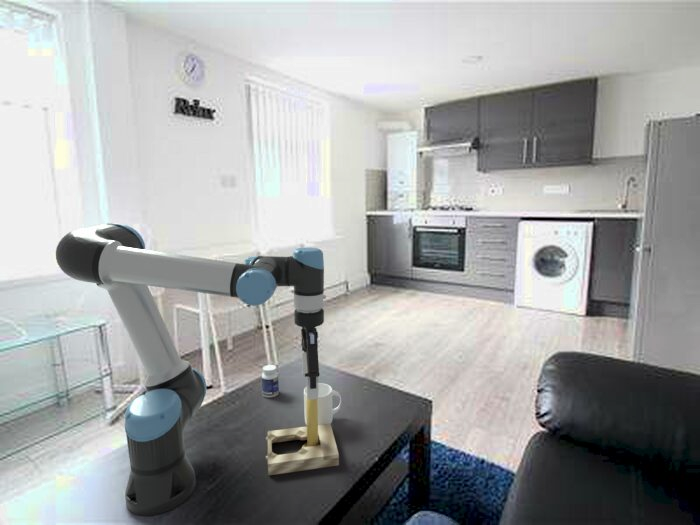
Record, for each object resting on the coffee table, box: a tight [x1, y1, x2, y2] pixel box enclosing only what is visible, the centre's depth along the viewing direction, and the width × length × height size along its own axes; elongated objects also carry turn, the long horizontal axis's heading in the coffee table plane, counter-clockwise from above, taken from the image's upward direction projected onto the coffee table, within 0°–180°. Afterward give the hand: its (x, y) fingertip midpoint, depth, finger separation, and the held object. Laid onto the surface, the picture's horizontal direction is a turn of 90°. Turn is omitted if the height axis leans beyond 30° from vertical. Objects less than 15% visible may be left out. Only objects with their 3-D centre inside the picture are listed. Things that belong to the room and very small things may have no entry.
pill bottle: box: [261, 364, 280, 398], centre depth 140 cm, size 6×6×10 cm
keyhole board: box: [265, 423, 340, 476], centre depth 109 cm, size 19×14×3 cm
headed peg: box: [301, 396, 320, 449], centre depth 109 cm, size 6×6×16 cm
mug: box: [303, 382, 342, 426], centre depth 124 cm, size 9×12×11 cm
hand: (309, 385), depth 106 cm, fingers open, 13 cm apart
